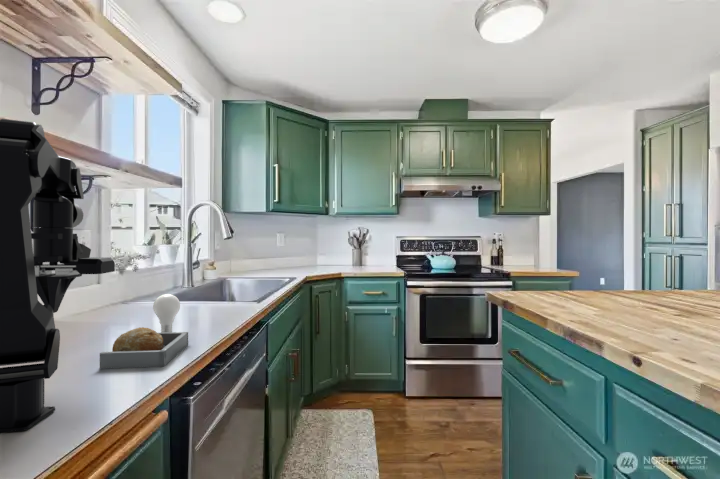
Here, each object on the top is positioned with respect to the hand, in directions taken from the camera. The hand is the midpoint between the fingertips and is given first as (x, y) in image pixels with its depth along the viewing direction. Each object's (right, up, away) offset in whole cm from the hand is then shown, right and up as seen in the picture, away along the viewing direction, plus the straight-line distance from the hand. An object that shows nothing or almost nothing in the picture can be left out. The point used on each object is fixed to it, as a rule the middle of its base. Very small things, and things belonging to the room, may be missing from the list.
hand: (53, 312), depth 71 cm
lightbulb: (+6, -12, +30) cm, 33 cm away
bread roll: (+8, -12, +14) cm, 20 cm away
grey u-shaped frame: (+10, -12, +14) cm, 21 cm away
